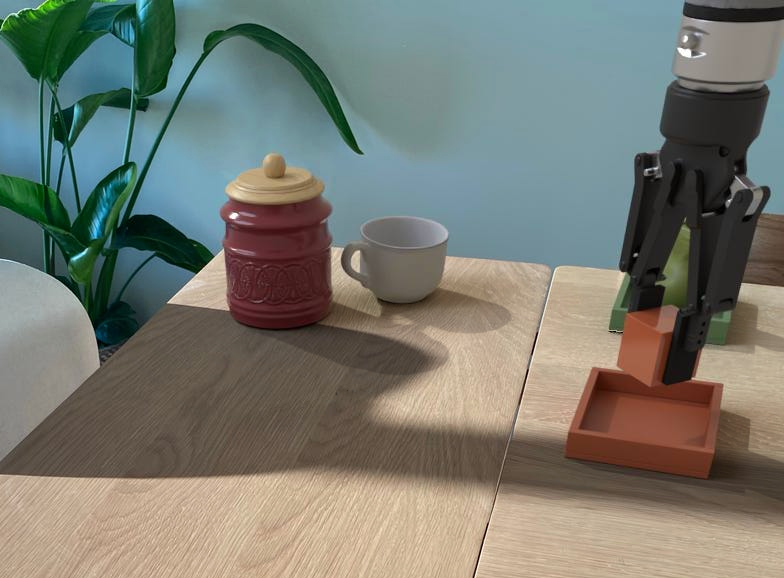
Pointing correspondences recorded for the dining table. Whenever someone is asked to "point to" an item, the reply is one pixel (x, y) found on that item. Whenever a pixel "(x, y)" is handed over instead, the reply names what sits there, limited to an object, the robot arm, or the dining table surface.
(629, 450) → the terracotta tray
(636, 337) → the block
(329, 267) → the kitchen canister
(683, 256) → the pear
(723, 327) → the green tray
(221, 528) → the dining table surface
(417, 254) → the teacup
